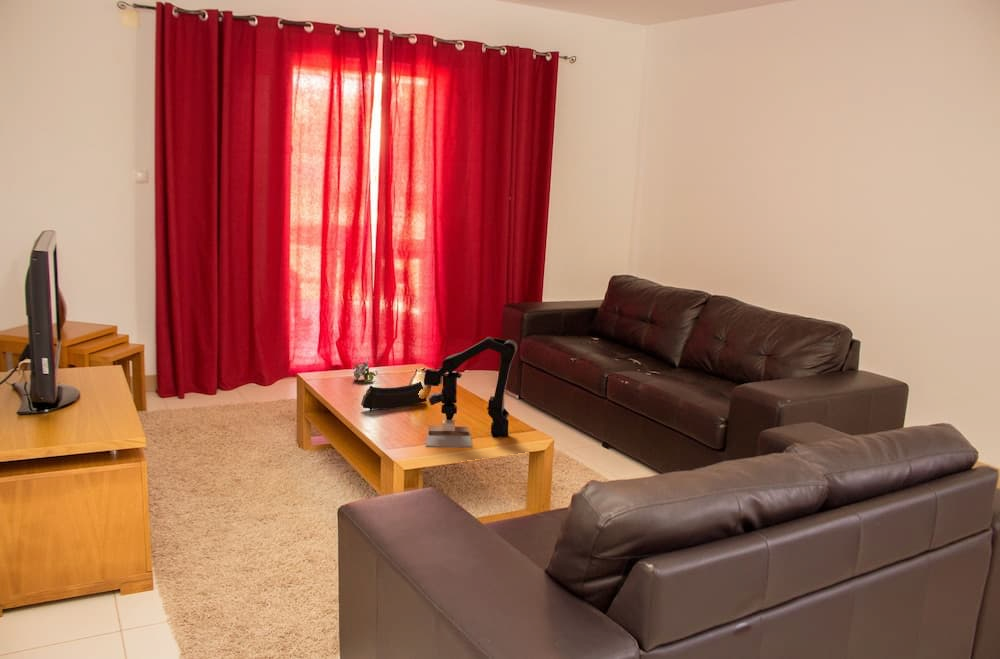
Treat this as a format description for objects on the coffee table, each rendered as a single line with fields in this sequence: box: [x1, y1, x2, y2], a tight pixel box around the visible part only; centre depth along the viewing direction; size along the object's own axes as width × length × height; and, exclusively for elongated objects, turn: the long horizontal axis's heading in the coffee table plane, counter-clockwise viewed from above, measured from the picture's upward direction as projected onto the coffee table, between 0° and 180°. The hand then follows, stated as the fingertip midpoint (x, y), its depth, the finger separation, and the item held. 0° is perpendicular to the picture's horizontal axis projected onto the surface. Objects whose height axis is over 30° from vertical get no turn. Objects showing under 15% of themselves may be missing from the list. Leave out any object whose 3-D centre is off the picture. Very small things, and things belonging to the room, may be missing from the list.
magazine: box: [360, 381, 427, 411], centre depth 364 cm, size 17×3×30 cm
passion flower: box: [352, 360, 378, 384], centre depth 405 cm, size 11×11×12 cm
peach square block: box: [441, 419, 456, 431], centre depth 333 cm, size 5×5×3 cm
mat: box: [425, 434, 473, 448], centre depth 324 cm, size 18×13×1 cm
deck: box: [428, 425, 469, 435], centre depth 333 cm, size 16×6×2 cm, turn 94°
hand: (448, 423), depth 336 cm, fingers closed
